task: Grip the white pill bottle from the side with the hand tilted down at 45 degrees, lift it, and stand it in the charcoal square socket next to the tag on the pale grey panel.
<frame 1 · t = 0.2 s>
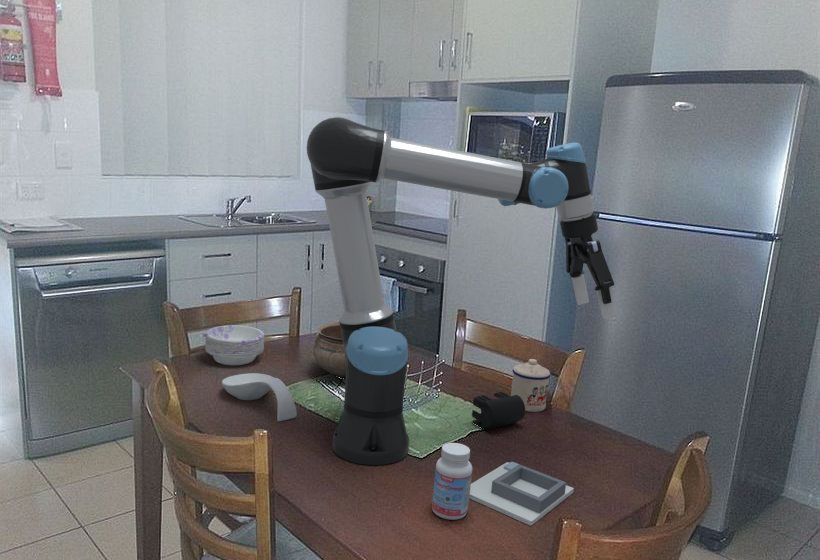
hand: (595, 310, 147), 27 cm above the table, tool tilted 20°, fingers open, 13 cm apart
paper bowls: (234, 361, 180), on the table
spoon rest: (260, 404, 152), on the table
panel: (517, 493, 119), on the table
pill bottle: (449, 512, 111), on the table
teacup with lid: (531, 405, 164), on the table
cooking pot: (348, 376, 174), on the table
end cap: (496, 426, 149), on the table
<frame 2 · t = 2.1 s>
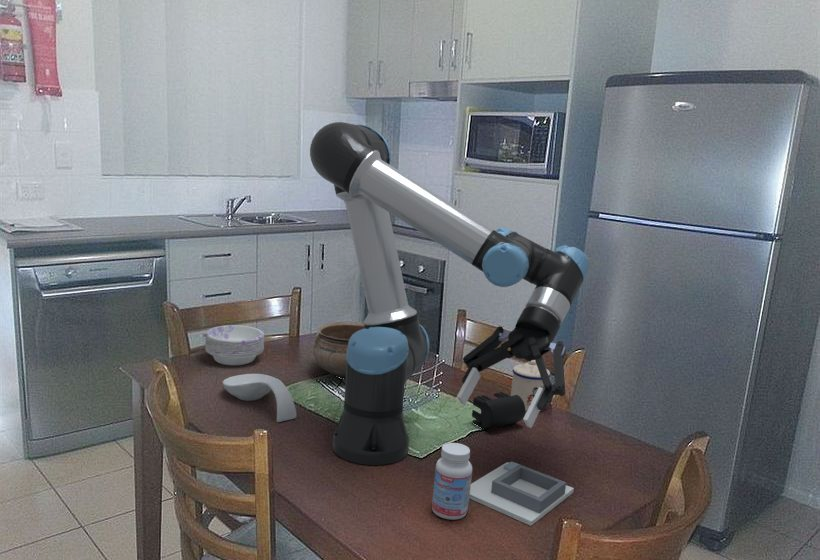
hand: (492, 412, 117), 15 cm above the table, tool tilted 45°, fingers open, 13 cm apart
nothing on the table moved.
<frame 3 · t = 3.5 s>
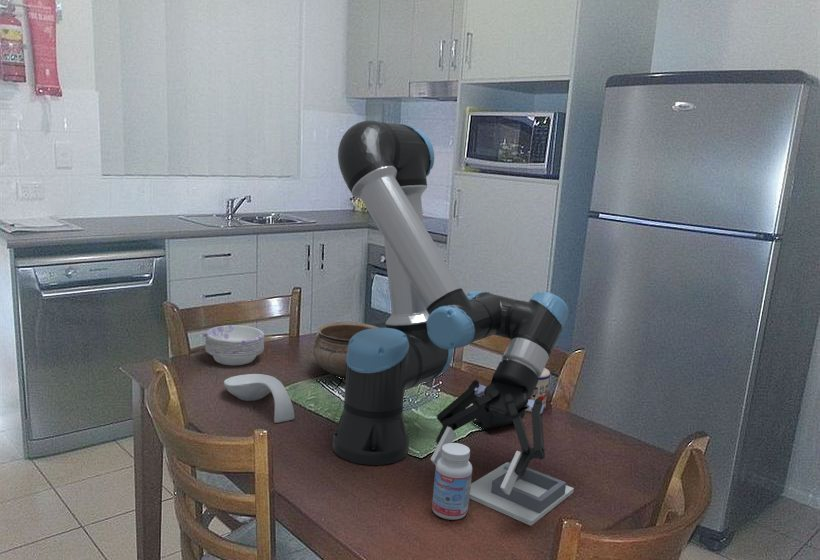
hand: (468, 477, 110), 6 cm above the table, tool tilted 45°, fingers open, 13 cm apart
nothing on the table moved.
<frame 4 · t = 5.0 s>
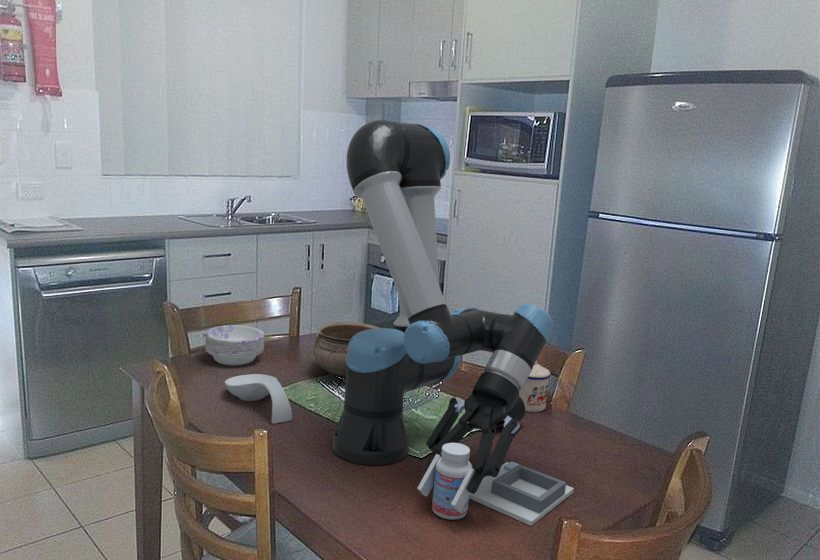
hand: (438, 500, 108), 3 cm above the table, tool tilted 45°, fingers closed on pill bottle, 6 cm apart
pill bottle: (449, 512, 111), on the table, touching gripper
everything else where it was.
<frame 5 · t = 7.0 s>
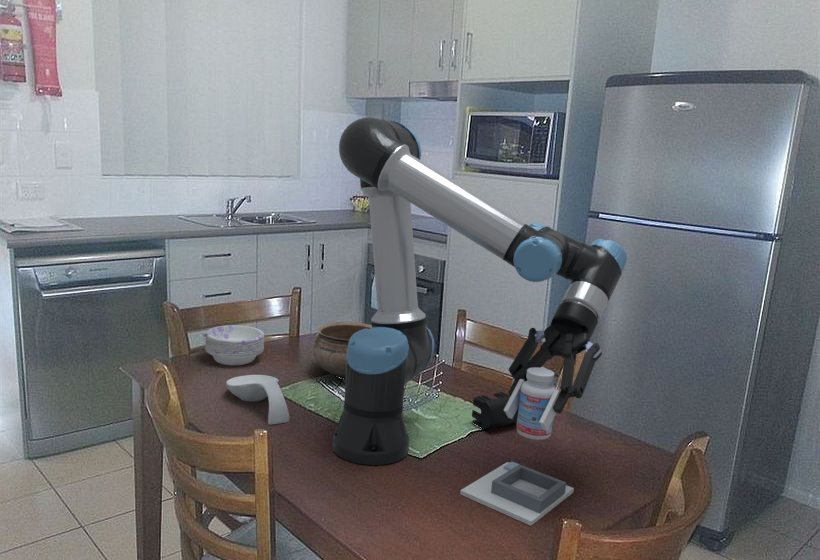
hand: (525, 420, 112), 16 cm above the table, tool tilted 45°, fingers closed on pill bottle, 6 cm apart
pill bottle: (533, 434, 115), point 12 cm above the table, touching gripper
when the fingers open (6 cm above the table, at t = 9.1 s): pill bottle drops 2 cm, resting on panel.
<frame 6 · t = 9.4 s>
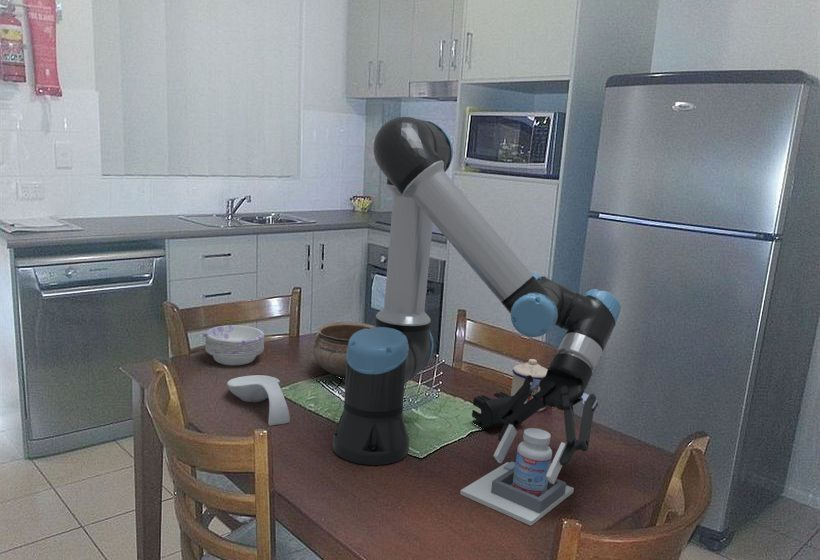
hand: (522, 469, 114), 6 cm above the table, tool tilted 45°, fingers open, 9 cm apart
pill bottle: (528, 494, 118), point 1 cm above the table, touching panel
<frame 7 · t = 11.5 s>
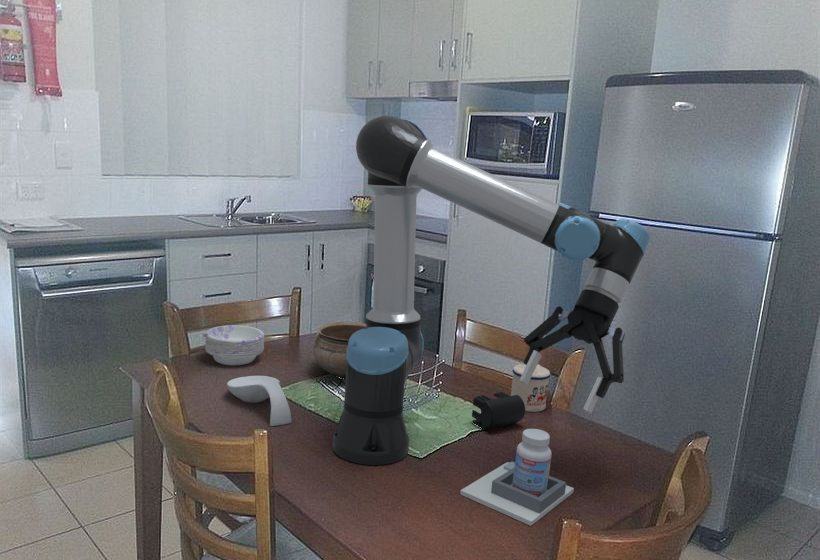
hand: (554, 396, 125), 15 cm above the table, tool tilted 30°, fingers open, 13 cm apart
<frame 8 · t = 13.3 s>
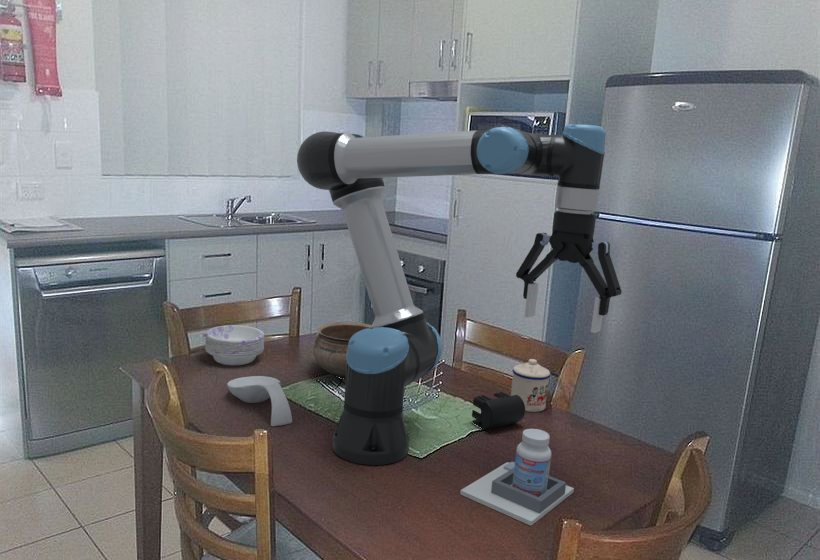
hand: (561, 323, 126), 29 cm above the table, tool pointing down, fingers open, 13 cm apart
at the end: pill bottle 0.1 cm from the target spot, point 0.6 cm above the table; pill bottle tilted 0°; the gripper is holding nothing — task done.
